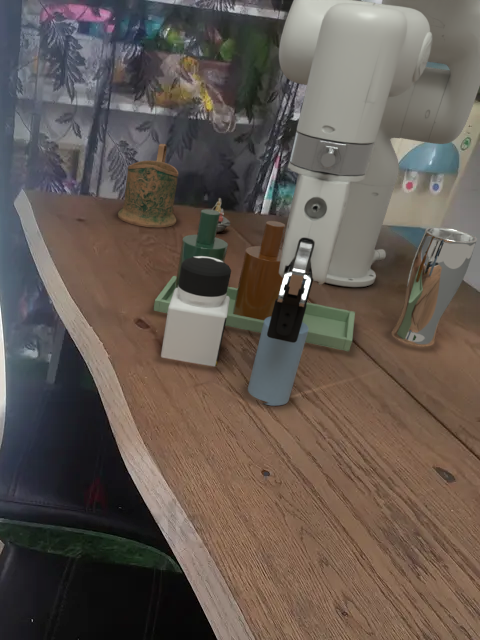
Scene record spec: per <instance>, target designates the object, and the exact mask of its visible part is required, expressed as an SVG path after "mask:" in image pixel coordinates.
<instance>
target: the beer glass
mask: <svg viewBox="0 0 480 640" xmlns="http://www.w3.org/2000/svg"><path fill="white" fill-rule="evenodd" d="M477 241H478V238H477V237H476V236H475V235H473V234H471V233H468V232H466V231H463V230H460V229H455V228H450V227H444V226H429V227H427V228H425V230H424V233H423V235H422V238H421V240H420V242H419V244H418V246H417V248H416V249H417V250H416V252H415V254H414V257H413V260H412V263H411V266H410V269H409V273H408V278H407V283H406V290H405V296H404V301H403V306H402V309H401V313H400V315H399V318H398V320H397V322H396V323H395V325H394V327H393V329H392V331H391V335H392V337H393V338H395V339H396V340H397V341H400V342H402V343H404V344H408V345H411V346H415V347H430V346H434V344H435V343H436V337H437V333H438V328H439V325H440V322H441V319H442V317H443V315H444V313H445V312H446V310H447V309H448V307H449V305H450V303H451V302H452V300H453V299H454V297H455V295H456V293H457V292H458V291H459V288H460V286H461V284H462V282H463V281H464V278H465V276H466V274H467V271H468V268H469V266H470V263H471V260H472V257H473V253H474V250H475V246H476V244H477Z"/></svg>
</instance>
